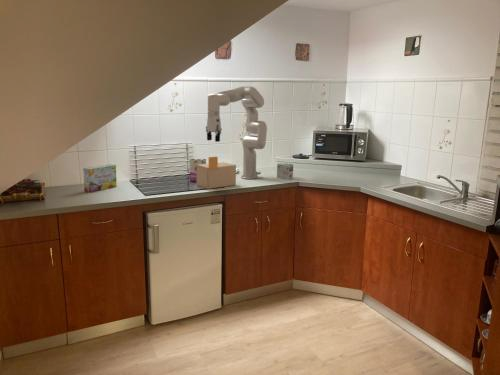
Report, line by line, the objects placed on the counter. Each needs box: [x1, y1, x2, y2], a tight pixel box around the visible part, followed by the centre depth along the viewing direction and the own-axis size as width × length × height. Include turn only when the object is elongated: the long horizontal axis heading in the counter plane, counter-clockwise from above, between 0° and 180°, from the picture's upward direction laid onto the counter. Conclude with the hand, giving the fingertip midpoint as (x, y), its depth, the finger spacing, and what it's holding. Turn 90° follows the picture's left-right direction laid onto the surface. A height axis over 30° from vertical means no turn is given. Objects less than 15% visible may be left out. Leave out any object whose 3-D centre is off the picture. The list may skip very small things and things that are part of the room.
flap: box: [207, 156, 237, 190], centre depth 279 cm, size 22×2×21 cm, turn 128°
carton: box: [196, 161, 234, 190], centre depth 286 cm, size 22×14×14 cm, turn 128°
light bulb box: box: [276, 162, 294, 180], centre depth 315 cm, size 11×7×11 cm, turn 58°
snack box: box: [82, 163, 117, 193], centre depth 268 cm, size 21×6×15 cm, turn 148°
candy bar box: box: [189, 157, 207, 183], centre depth 297 cm, size 11×5×16 cm, turn 62°
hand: (213, 140), depth 271 cm, fingers open, 9 cm apart
